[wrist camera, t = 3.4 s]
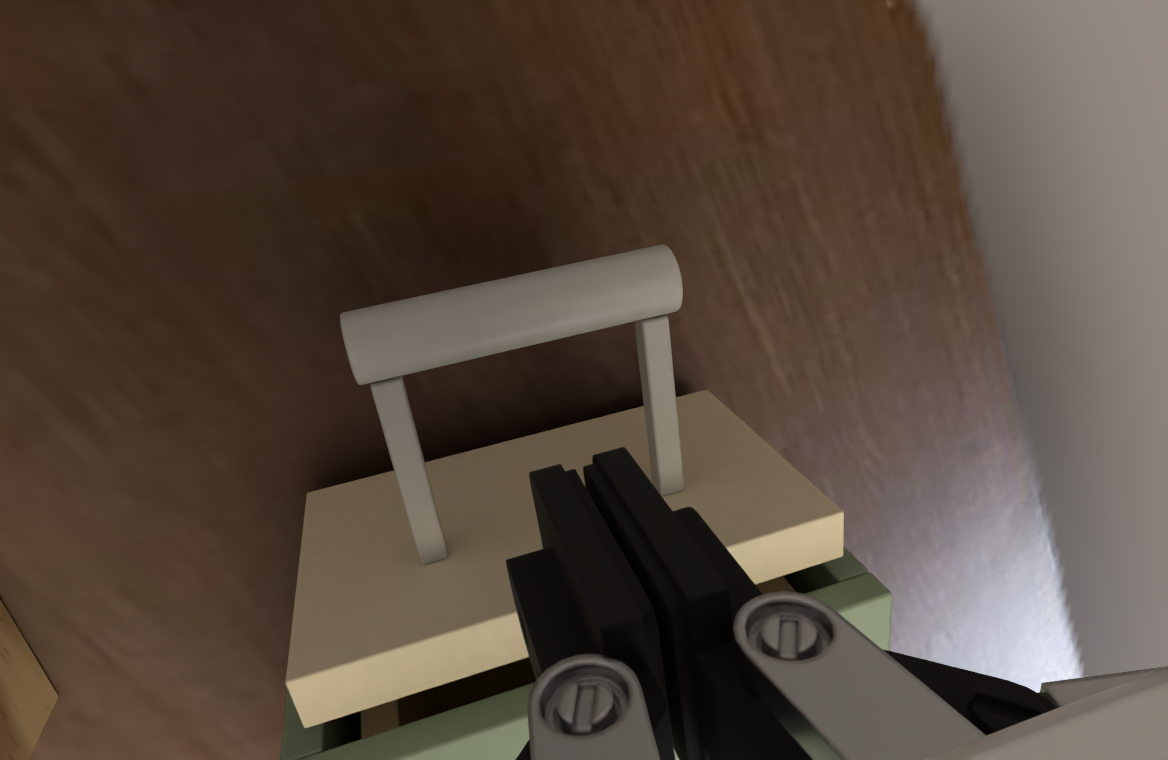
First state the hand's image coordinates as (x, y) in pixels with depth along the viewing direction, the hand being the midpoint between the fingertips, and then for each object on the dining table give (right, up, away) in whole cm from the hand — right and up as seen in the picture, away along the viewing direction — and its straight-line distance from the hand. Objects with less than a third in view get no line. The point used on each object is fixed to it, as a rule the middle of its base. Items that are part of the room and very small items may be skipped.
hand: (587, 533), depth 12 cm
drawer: (-1, -3, +10) cm, 10 cm away
